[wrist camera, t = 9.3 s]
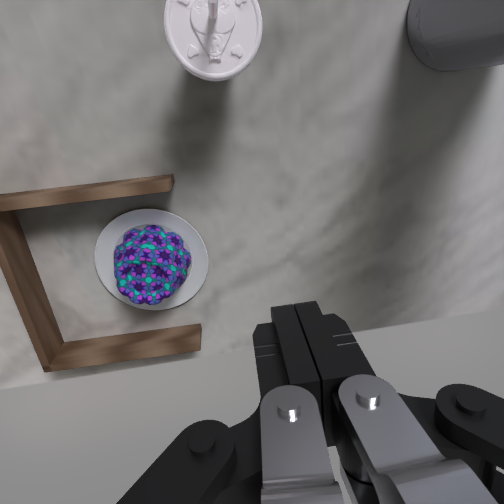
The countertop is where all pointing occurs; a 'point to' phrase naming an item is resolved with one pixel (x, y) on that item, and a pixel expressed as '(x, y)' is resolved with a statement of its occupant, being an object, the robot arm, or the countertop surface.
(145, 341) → the box
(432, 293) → the countertop surface
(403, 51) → the countertop surface
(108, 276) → the pudding
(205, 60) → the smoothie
